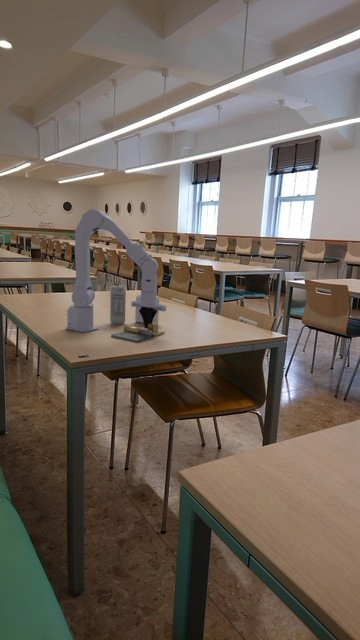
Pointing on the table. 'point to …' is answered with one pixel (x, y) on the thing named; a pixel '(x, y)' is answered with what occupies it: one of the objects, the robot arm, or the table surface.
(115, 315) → the energy drink can
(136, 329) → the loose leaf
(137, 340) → the pin leaf
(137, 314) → the photo printer
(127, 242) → the robot arm
